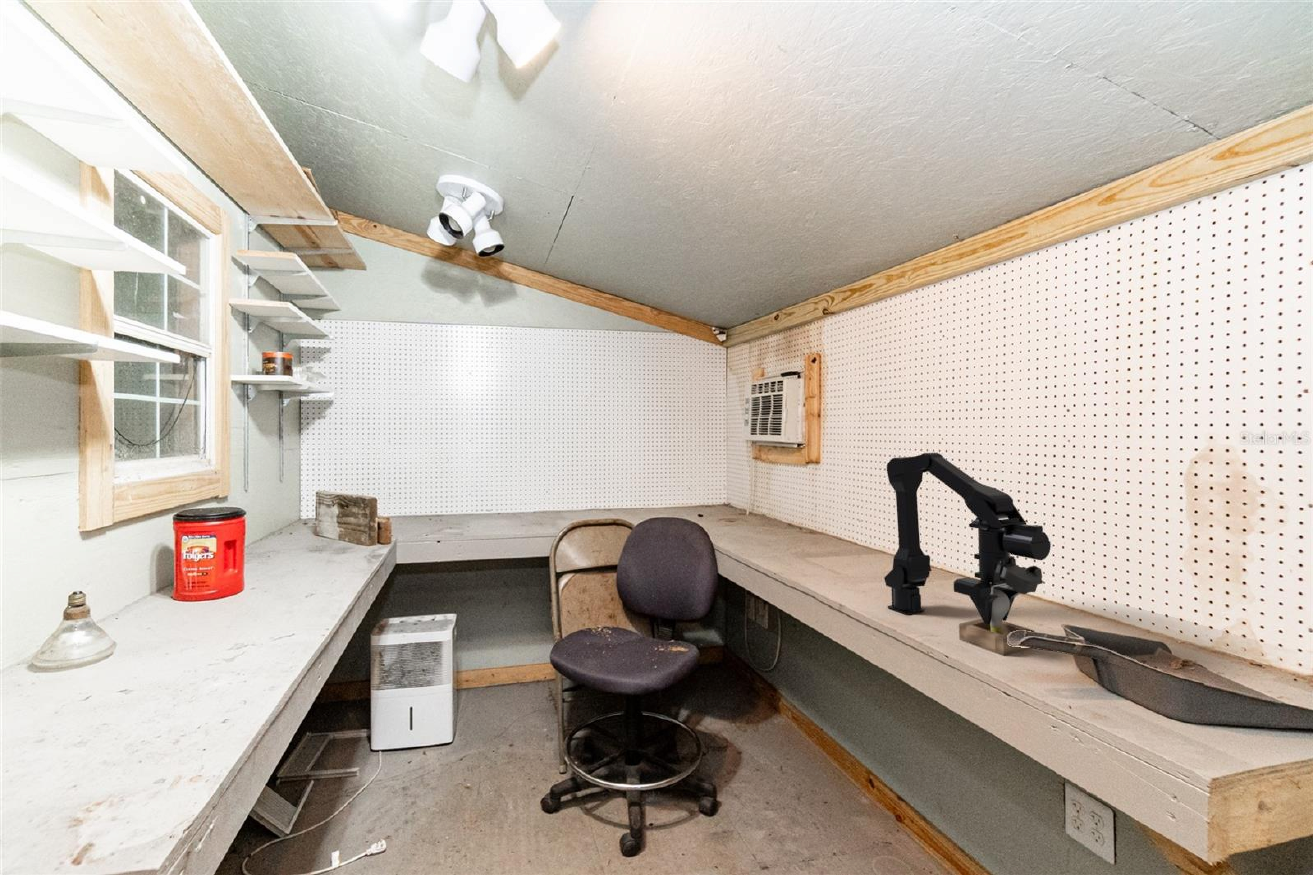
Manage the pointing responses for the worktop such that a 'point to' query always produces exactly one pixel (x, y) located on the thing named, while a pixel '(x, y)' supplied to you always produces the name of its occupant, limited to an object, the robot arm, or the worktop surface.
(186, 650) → the worktop surface
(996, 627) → the light bulb
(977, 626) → the socket block
